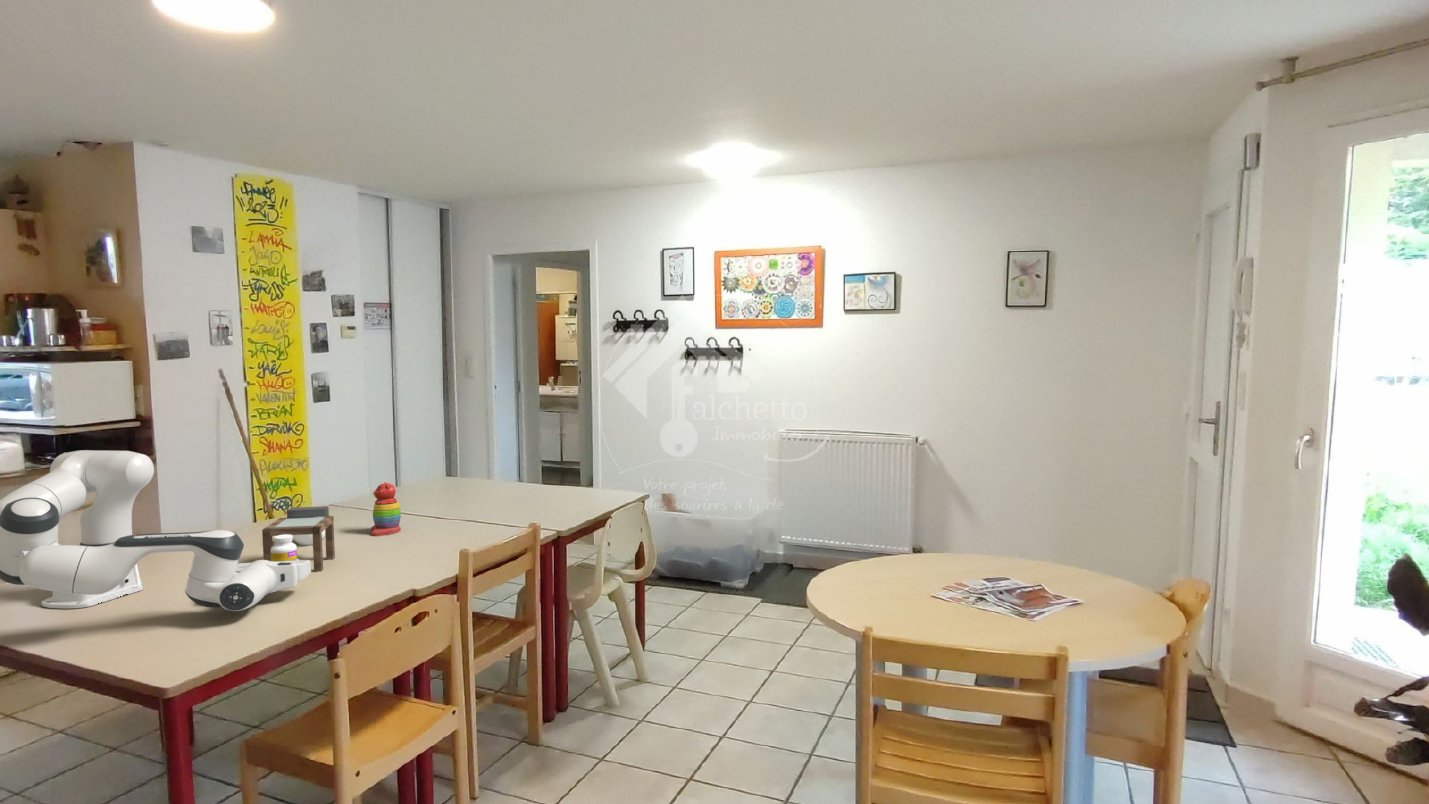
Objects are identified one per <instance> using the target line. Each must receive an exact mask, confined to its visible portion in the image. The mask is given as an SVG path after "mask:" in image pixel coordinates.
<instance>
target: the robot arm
mask: <svg viewBox="0 0 1429 804" xmlns="http://www.w3.org/2000/svg"><path fill="white" fill-rule="evenodd" d="M154 474H155V466H154V462H153V461H152V459H151V457H149V456H148V455H147V454H143V453H139V452H135V451H132V450H131V451H130V450H92V449H90V450H89V449H85V450H84V449H83V450H82V449H81V450H73V451H70V452H64V453H61V454H59V455H58V456H56V457H55V458H54V459H53V461H52V463H51V465H50V468H49V473H47V474H44V475H43V476H41V477H39V478H37V479H35V480H33V481H31V482H29V483H27V484H25V485H23V486H20V487H19V488H17V489H15V490H13V491H11V492H9V493H8V494H7V495H5V496H4V497H3V498H1V499H0V580H1V581H3V582H5V583H9V584H11V585H16V586H17V585H18V586H24V585H25V586H28V587H31V588H35V589H40V590H45V591H48V592H52V596H50V597H48V598H45V599H43V600H41V604H40V605H41V606H42V607H45V608H50V609H81V608H89V607H91V606H92V607H93V606H95V605H98V603H99V604H101V602H102V603H106V602H109V601H112V600H115V599H118V598H121V597H124V596H123V595H125V594H128V595H130V594H133V593H137V592H139V591H143V590H144V586H143V584H144V582H143V581H142V578H141V576H140V573H139V567H138V562H140V561H141V560H142V559H143V558H144V557H146V556H148V555H150V554H154V553H157V554H158V553H175V552H176V553H178V552H192V553H193V558H192V562H191V567H190V570H189V573H188V578H187V580H186V585H185V590H184V593H185V595H186V596H187V598H189V599H190V600H191V601H192V602H194V603H195V604H196V605H198V606H202V607H206V608H214V609H218V608H219V609H220V608H223V609H224V610H227V611H230V612H231V611H232V612H238V611H239V612H240V611H243V610H246V609H249V608H251V607H253V606H255V605H256V604H258V603H259V602H260V601H261V600H262V599H263V598H264V597H265V596H266V595H269V594H273V593H274V592H277V591H282V590H287V589H293V588H295V587H297V586H298V583H300V582H302V581H303V580H305V579H306V578H307V577H308V576H310V574H311V572H312V562H311V560H310V559H300V558H297V559H293V560H292V561H275V562H274V561H268V560H264V559H257V560H254V561H253V562H241V563H239V560H240V557H241V555H242V553H243V549H244V547H245V545H244V542H243V540H242V539H241V537H240V536H239V535H238V534H237V533H236V532H235V531H231V530H226V529H215V530H214V529H213V530H203V531H194V532H193V531H192V532H189V531H187V532H168V533H167V532H164V533H161V532H160V533H143V534H133V517H132V516H133V506H134V504H135V500H136V498H137V497H138V494H139V493H140V492H141V491H142V489H144V488H145V487H146V486H147V485H149V484H150V482H151V481H152V480H153V477H154ZM93 492H96V494H95V498H94V502H93V504H92V505H90V506H88V507H87V508H86V509H84V510H83V511H82V512H81V514H80V516H79V521H80V522H79V523H80V537H81V541H80V543H79V545H78V544H77V545H75V544H59V523H60V519H61V518H63V517H65V516H66V515H68V514H70V513H72V512H75V510H78V509H80V508H81V507H82V506H83V505H84V503H85V502H86V499H87V494H89V493H93ZM120 596H121V597H120ZM125 596H126V595H125ZM117 597H118V598H117Z"/></svg>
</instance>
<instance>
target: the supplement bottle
mask: <svg viewBox="0 0 1429 804" xmlns="http://www.w3.org/2000/svg"><path fill="white" fill-rule="evenodd" d="M293 541H294V540H293V536H292V535H290V534H284V535H278V536H273V542H274V544H273V546H272V547H271V561H274V562H275V561H292V560H293V559H298V548H297V545H296V543H294V542H293Z"/></svg>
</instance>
